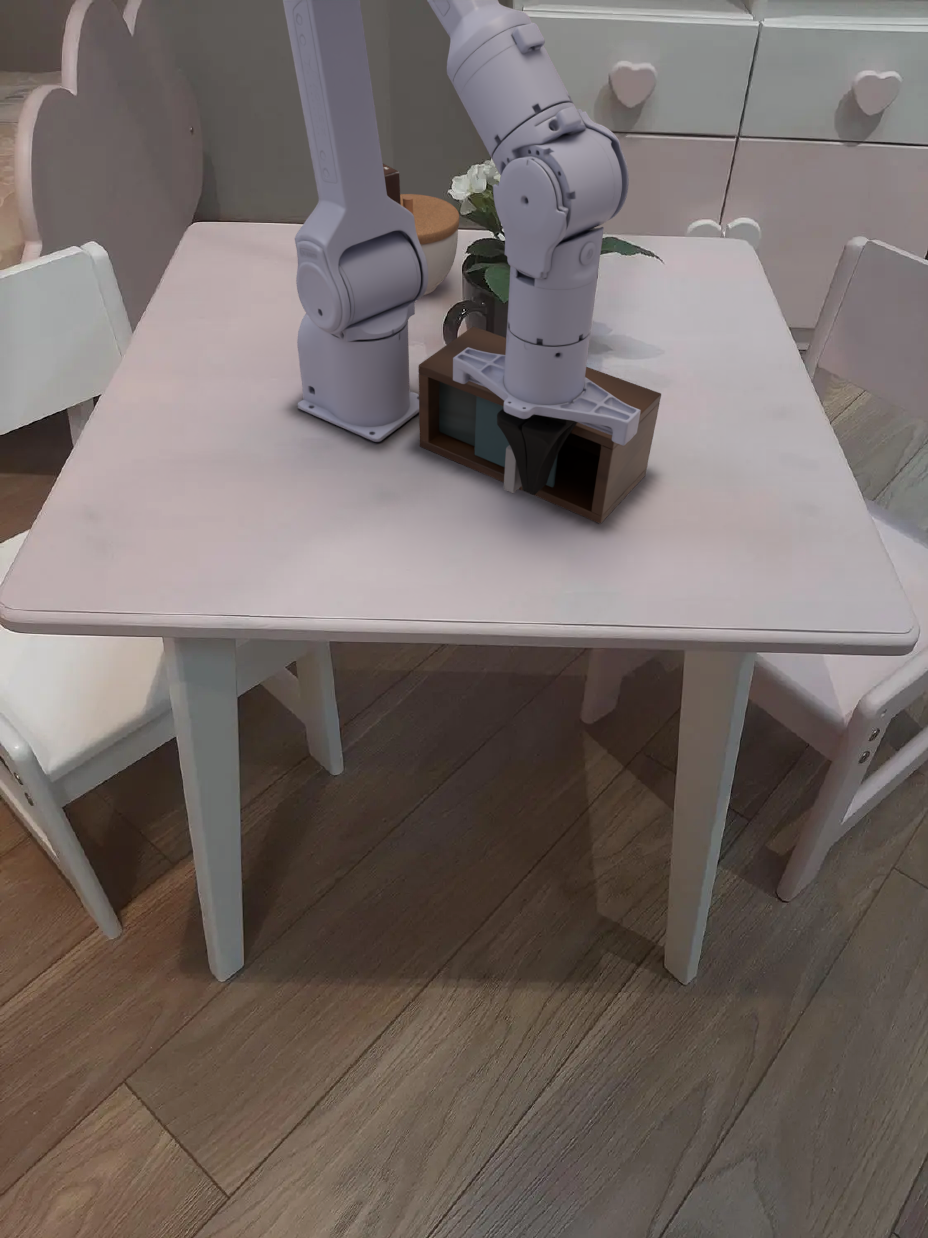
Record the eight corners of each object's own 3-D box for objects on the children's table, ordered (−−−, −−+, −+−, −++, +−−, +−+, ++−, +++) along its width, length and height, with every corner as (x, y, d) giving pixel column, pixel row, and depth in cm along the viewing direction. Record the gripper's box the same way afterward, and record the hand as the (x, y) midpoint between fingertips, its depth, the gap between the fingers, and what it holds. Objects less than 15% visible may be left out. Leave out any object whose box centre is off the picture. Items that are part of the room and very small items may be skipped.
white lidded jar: (469, 270, 106) (471, 184, 99) (442, 314, 99) (442, 224, 92) (379, 257, 108) (375, 172, 101) (346, 299, 100) (340, 210, 94)
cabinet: (600, 524, 75) (614, 440, 69) (419, 446, 82) (418, 364, 76) (645, 475, 80) (662, 393, 74) (470, 405, 87) (473, 325, 81)
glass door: (529, 510, 74) (535, 449, 70) (449, 475, 77) (450, 415, 73) (554, 485, 77) (561, 425, 72) (476, 452, 79) (478, 393, 75)
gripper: (428, 317, 64) (429, 478, 74) (615, 384, 59) (590, 549, 68) (484, 280, 68) (479, 436, 78) (665, 339, 63) (635, 500, 72)
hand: (534, 486), depth 73 cm, fingers closed, pressing on cabinet
